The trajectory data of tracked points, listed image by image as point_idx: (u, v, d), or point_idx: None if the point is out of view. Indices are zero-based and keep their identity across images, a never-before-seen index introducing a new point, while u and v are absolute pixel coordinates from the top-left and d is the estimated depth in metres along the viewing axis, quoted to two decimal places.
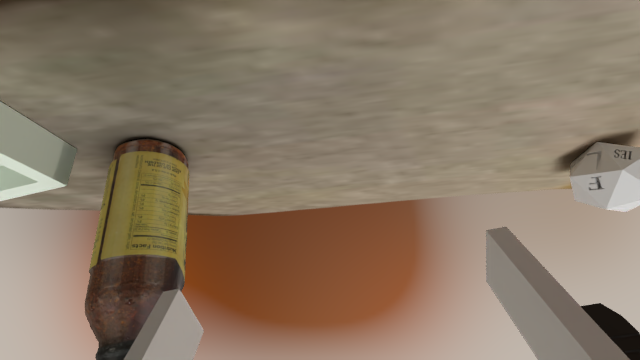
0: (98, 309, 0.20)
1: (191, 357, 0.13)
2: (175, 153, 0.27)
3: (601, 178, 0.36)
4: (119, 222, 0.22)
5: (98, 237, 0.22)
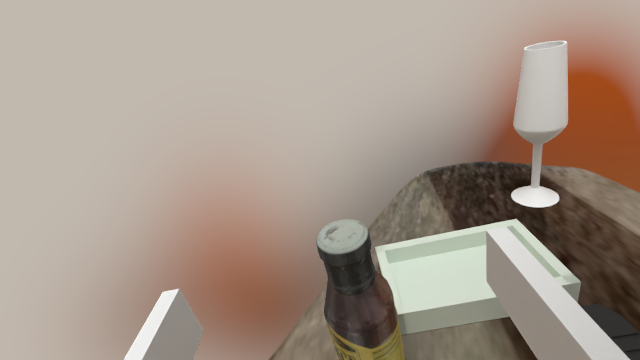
0: (387, 283, 0.27)
1: (192, 357, 0.13)
2: None
3: None
4: (400, 333, 0.28)
5: None
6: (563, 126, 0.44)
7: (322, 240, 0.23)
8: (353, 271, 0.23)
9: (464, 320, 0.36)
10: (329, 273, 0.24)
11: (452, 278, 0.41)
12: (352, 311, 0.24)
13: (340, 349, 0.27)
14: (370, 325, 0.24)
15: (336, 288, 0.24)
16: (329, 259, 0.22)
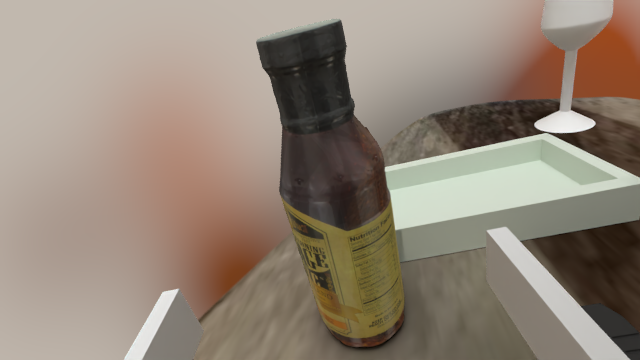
0: None
1: (191, 357, 0.13)
2: (380, 338, 0.20)
3: None
4: None
5: None
6: (607, 17, 0.35)
7: (266, 36, 0.14)
8: (315, 81, 0.14)
9: (483, 241, 0.26)
10: (279, 98, 0.15)
11: (465, 200, 0.31)
12: (316, 163, 0.15)
13: (302, 241, 0.18)
14: (344, 184, 0.15)
15: (290, 124, 0.15)
16: (272, 54, 0.13)
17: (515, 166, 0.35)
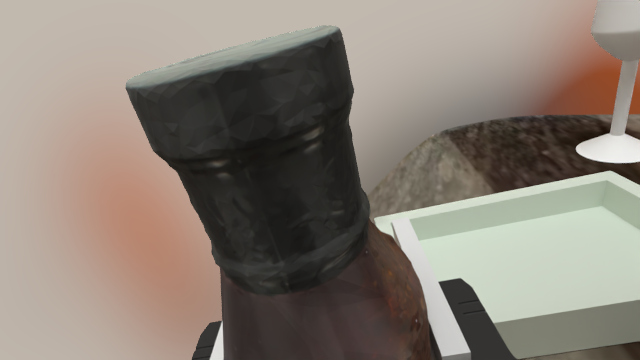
0: (407, 260, 0.09)
1: None
2: None
3: None
4: None
5: None
6: None
7: (155, 70, 0.06)
8: (274, 190, 0.05)
9: (549, 347, 0.18)
10: None
11: (510, 267, 0.23)
12: (286, 355, 0.07)
13: None
14: None
15: (225, 268, 0.07)
16: (153, 126, 0.05)
17: (569, 215, 0.26)
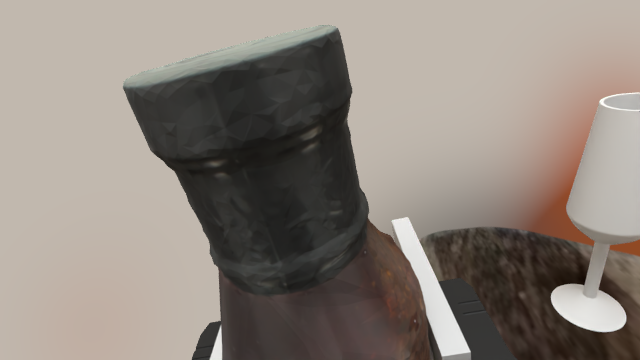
0: (406, 260, 0.09)
1: None
2: None
3: None
4: None
5: None
6: None
7: (153, 70, 0.06)
8: (272, 190, 0.05)
9: None
10: (194, 210, 0.06)
11: None
12: (284, 355, 0.07)
13: None
14: None
15: (223, 268, 0.06)
16: (151, 125, 0.05)
17: None
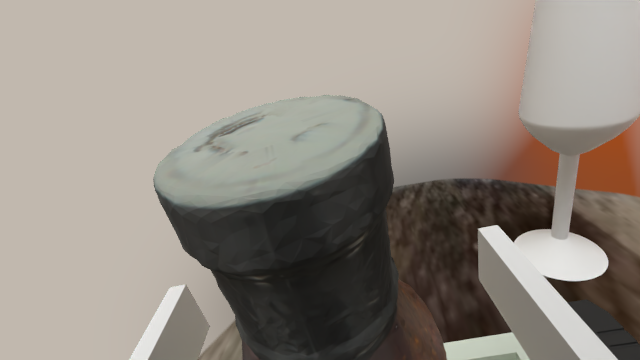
0: (428, 313, 0.09)
1: (198, 352, 0.14)
2: None
3: None
4: None
5: None
6: (635, 115, 0.19)
7: (182, 156, 0.05)
8: (314, 295, 0.05)
9: None
10: (224, 293, 0.06)
11: None
12: None
13: None
14: None
15: (254, 349, 0.06)
16: (189, 237, 0.04)
17: None
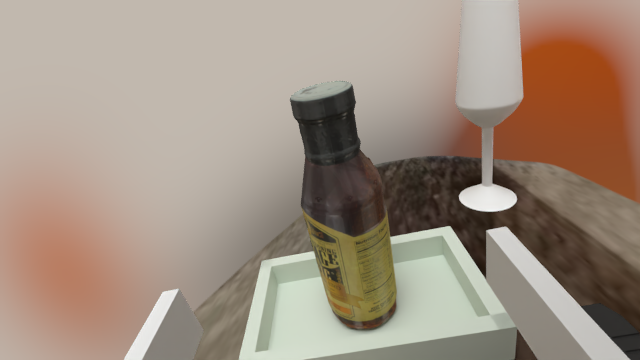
0: None
1: (191, 357, 0.13)
2: (377, 321, 0.26)
3: None
4: (389, 234, 0.25)
5: None
6: (515, 101, 0.33)
7: (297, 95, 0.20)
8: (333, 129, 0.19)
9: None
10: (305, 139, 0.20)
11: None
12: (332, 187, 0.20)
13: (318, 244, 0.23)
14: (353, 202, 0.20)
15: (313, 158, 0.20)
16: (303, 110, 0.19)
17: (416, 262, 0.32)
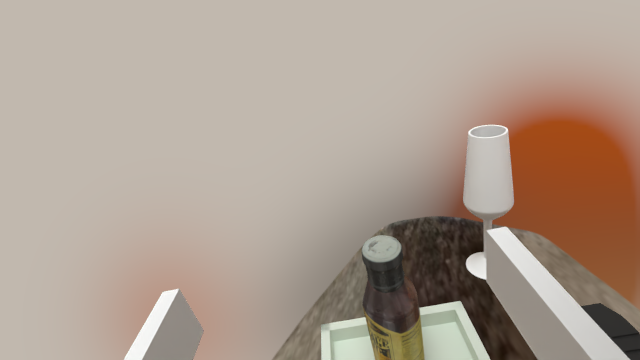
0: (412, 284, 0.35)
1: (191, 357, 0.13)
2: None
3: None
4: None
5: None
6: (508, 208, 0.44)
7: (366, 251, 0.32)
8: (390, 275, 0.31)
9: None
10: (371, 276, 0.32)
11: None
12: (387, 305, 0.32)
13: (375, 334, 0.35)
14: (401, 315, 0.32)
15: (376, 287, 0.32)
16: (373, 266, 0.31)
17: (435, 327, 0.44)
